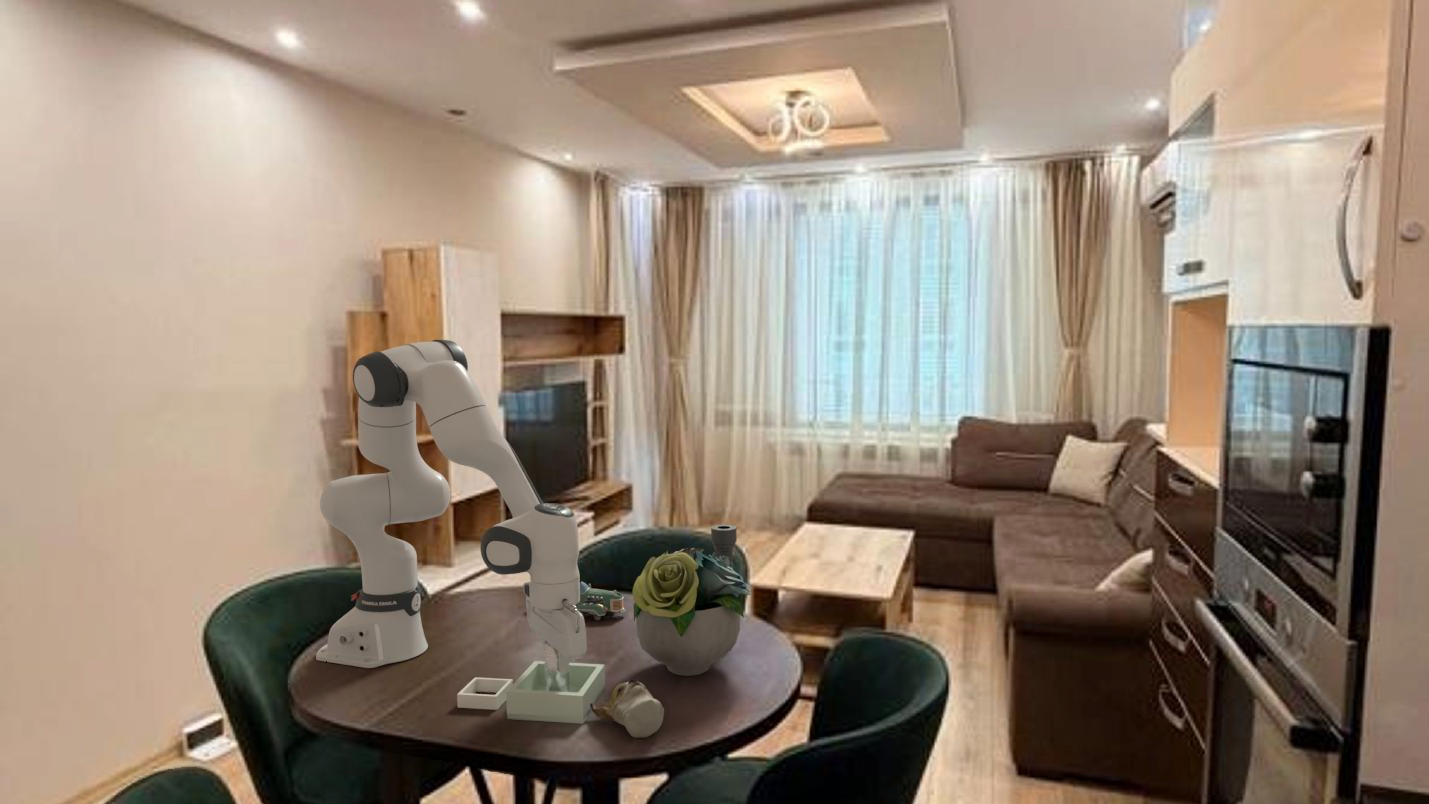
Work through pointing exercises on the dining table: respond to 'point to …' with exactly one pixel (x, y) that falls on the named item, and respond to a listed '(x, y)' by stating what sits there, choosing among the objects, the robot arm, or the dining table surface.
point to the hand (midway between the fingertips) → (556, 666)
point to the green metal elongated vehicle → (599, 602)
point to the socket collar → (484, 701)
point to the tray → (556, 694)
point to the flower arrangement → (688, 609)
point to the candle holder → (724, 541)
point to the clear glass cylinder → (554, 671)
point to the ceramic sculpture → (632, 709)
